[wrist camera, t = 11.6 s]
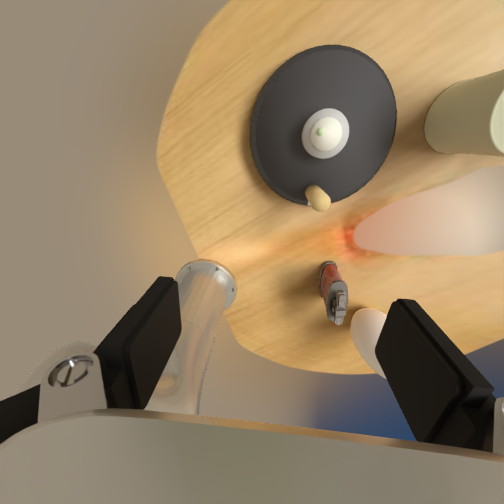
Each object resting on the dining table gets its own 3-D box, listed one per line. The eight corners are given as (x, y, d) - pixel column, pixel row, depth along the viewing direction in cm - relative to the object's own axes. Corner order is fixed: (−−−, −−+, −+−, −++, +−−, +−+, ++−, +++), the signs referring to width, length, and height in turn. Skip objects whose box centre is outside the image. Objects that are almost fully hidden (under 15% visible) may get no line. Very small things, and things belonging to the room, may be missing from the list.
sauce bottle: (341, 327, 51) (373, 414, 35) (347, 297, 48) (386, 377, 31) (378, 329, 50) (429, 418, 34) (387, 298, 47) (448, 381, 31)
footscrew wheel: (414, 142, 34) (455, 142, 27) (305, 222, 40) (313, 241, 33) (342, 13, 29) (367, -33, 21) (230, 128, 35) (218, 124, 28)
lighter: (334, 296, 48) (349, 332, 39) (317, 296, 48) (328, 332, 39) (338, 260, 44) (355, 290, 35) (320, 260, 45) (332, 291, 36)
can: (478, 61, 31) (589, 18, 20) (507, 119, 33) (621, 108, 22) (411, 118, 34) (476, 106, 23) (442, 167, 36) (514, 177, 26)
